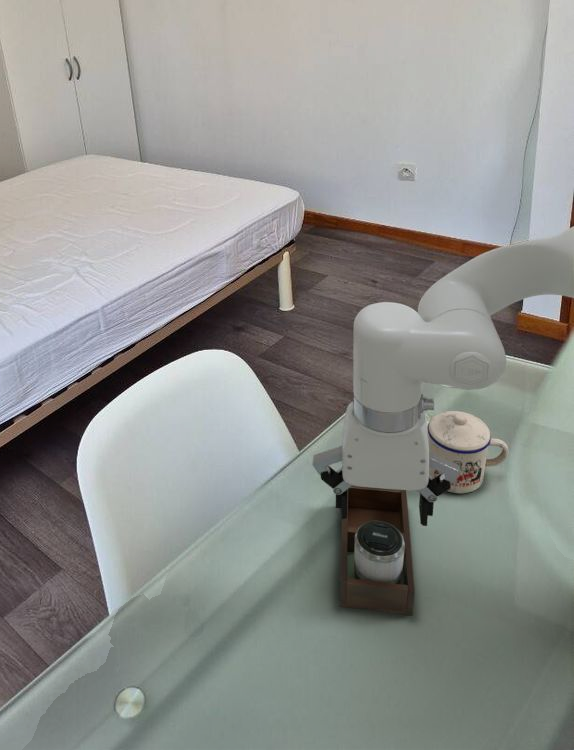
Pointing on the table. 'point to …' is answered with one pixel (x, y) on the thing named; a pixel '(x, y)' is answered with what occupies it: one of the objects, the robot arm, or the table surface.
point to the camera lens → (379, 552)
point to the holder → (360, 510)
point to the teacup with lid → (463, 447)
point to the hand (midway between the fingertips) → (383, 513)
